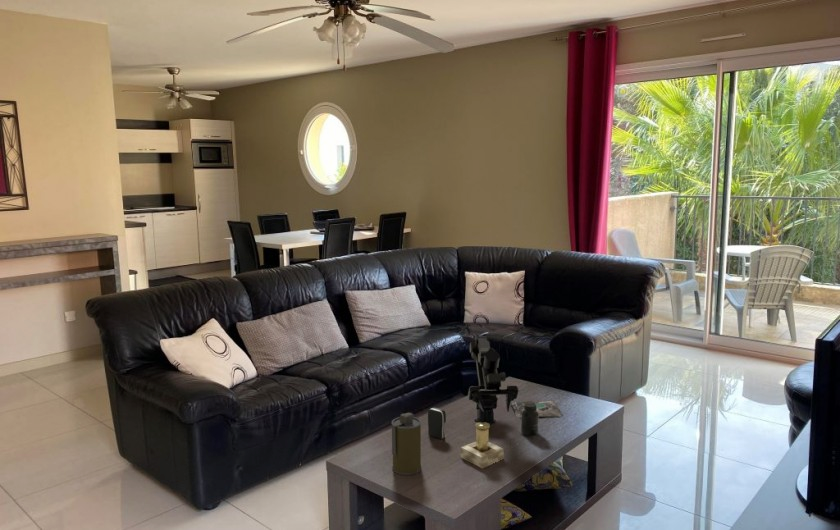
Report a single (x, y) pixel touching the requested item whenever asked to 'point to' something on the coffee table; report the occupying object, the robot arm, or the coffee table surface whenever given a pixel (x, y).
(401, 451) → the canister
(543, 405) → the terrain model
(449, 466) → the coffee table surface
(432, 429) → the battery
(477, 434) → the brass capped cylinder
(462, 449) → the bore block
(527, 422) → the supplement bottle
